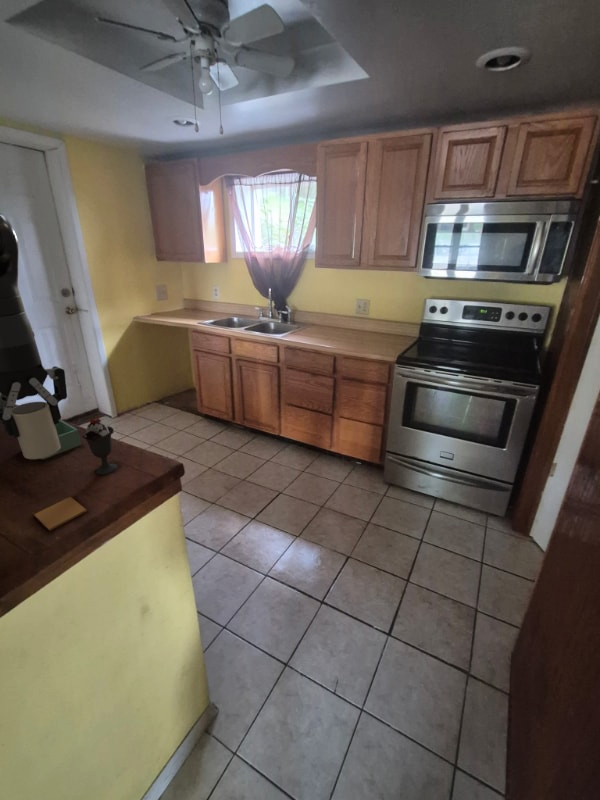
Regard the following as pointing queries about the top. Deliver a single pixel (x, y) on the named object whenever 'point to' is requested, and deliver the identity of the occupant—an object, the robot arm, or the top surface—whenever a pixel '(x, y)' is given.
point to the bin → (66, 437)
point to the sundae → (100, 443)
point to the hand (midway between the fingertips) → (35, 428)
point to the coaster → (60, 513)
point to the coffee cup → (36, 430)
